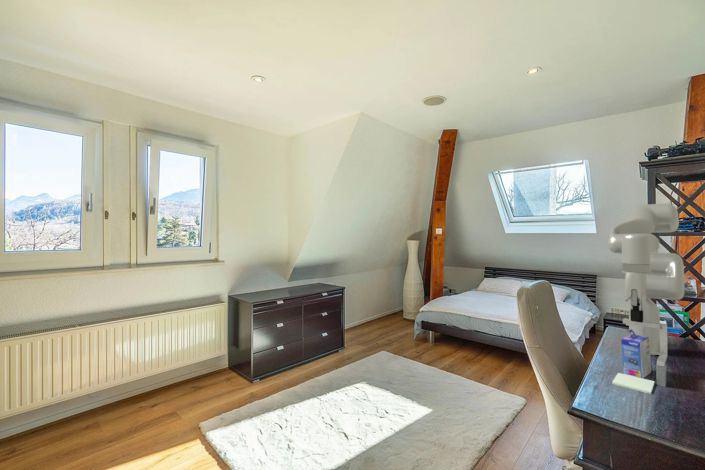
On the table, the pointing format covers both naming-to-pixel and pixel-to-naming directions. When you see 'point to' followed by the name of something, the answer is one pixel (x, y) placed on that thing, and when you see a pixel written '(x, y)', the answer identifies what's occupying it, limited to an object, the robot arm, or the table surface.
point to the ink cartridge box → (636, 355)
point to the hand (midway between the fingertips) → (636, 321)
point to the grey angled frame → (663, 337)
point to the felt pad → (634, 383)
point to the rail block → (661, 375)
